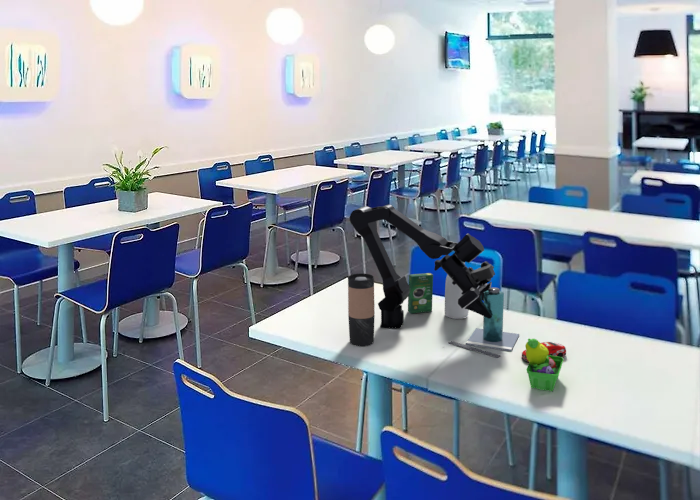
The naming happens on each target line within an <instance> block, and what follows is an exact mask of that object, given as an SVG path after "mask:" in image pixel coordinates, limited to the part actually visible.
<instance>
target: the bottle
mask: <svg viewBox="0 0 700 500" xmlns="http://www.w3.org/2000/svg"><path fill="white" fill-rule="evenodd" d="M504 299H505V293H504V291H501V289H500V288H499V287H493V286H492V287H491V288H489V289H488V291H485V292H484V301H483V303H484V304H485V306H486V307H487V309H488V310H489V312H490V313H491V315H492V317H491V318H490V319H489V318H487V317H484V316H482V317H483V321H482V323H483V325H482V329H483V339H484V340H486V341H489V342H499V341H501V340H502V338H503V332H504V331H503V329H504V302H505V300H504Z"/></svg>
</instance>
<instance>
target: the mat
mask: <svg viewBox="0 0 700 500" xmlns="http://www.w3.org/2000/svg"><path fill="white" fill-rule="evenodd" d="M519 336H520V333H513V332H509V331H508V332H507V331H503V338H502V340H501V341H499V342H489V341H486V340H484V339H483V328H478V327H476V328H475V329H474V330H473V332H472V334H471V335H470V336H469V338H468V339H467V341H466V342H465V345H468V346H472V347H480V348H481V347H482V348H487V349H493V350H494V349H495V350H501V351H507V352H512V350H513V349H514V346H515V345H516V343H517V341H518V338H519Z"/></svg>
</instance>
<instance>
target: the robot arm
mask: <svg viewBox="0 0 700 500" xmlns="http://www.w3.org/2000/svg"><path fill="white" fill-rule="evenodd" d="M348 218H349V221H350V224H351V225H352V228H353V229H354V230H355V232H356V233H357V234H358V235H360V237H362V238H363V240H364V243H365V244H366V247H367V249H368V251H369V254H370V255H371V257H372V260H373V261H374V263H375V266H376V269H377V271H378V273H379V275H380V277H381V279H382V290H383V294H384V295H383V296H384V298H382V299H381V300H380V301H379V302H378V303H377V304H378V308H379V310H380V325H379V327H380V328H382V329H396V330H397V329H399V330H400V329H402V326H403V325H404V323H405V322H404V321H405V320H404V318H405V317H404V315H405V314H404V313H405V310H403V304H404V301H406V299H408V296H409V293H410V291H409V287H410V286H409V282H408V281H407V278H406V276H405V275H402V276H400V275H399V274H398V273H397V272H396V270H395V268H394V266H393V264H392V262H391V259H390V256H389V254H388V253H387V250H386V248H385V246H384V244H383V241H382V239H381V237H380V235H379V233H378V221H383V220H384V221H386V222H387V223H389V224H390V225H392V227H395V229H397V230H399V231H400V232H402V234H404V235H405V236H407V237H408V238H409V239H411V240H413V241H414V242H415V243H416V244H417V246H418V247H419V249H420V250H421V252H423V253H424V254H425V255H426V256H427V257H428V258H429V259H431V260H434V259H435V261H434V268H433V270H434V271H436V272H437V271H438V270H439V269H440V268H441V269H442V270H443V271H444V273H446V275H449V277H450V278H451V279H452V280H453V282H452V284H453V285H455V284H456V285H457V286H458V287H459V288H460V289H461V290H462V291H463V292H462V293H461V294H462V296H461V297H460V298H459V299H458V305H459V306H460V307H461V308H462V309H463V308H464V307H465V306H466V305H467V306H466V307H465V309H468V311H471V312H473V313H476V314H478V315H480V316H482V317H483V316H484V317H487V318H489V319H490V318H491V317H492V315H491V313H490V312H489V310H488V309H487V307H486V306H485V304H484V292H485V291H488V289H489V288H492V282H493V281H492V278H494V276H495V275H496V273H495V270H494V268H495V267H494V266H493V265H492V263H489V262H488V261H486V260H485V261H484V262H482V263H480V267H478V268H476V269H474V268H473V267H470V266H467V265H466V263H469V264H470V263H471V262H472V261H473V260H475V259H476V258H477V257H479V256H480V254H483V252H485V248H484V245H483V244H482V242H481V241H480V240H479V239H477V238H476V237H474V236H473V235H471V234H470V233H466V234H465V235H464V236H463V237H462V238H461V239H460V240H459V241H458V242H455V241H451V240H447V239H446V238H445V237H444V236H442V235H440V234H437V233H435V232H433V231H429V230H428V229H424V228H423V227H422V226H420V225H419V224H418V223H416V222H414V221H413V220H411V219H410V218H408V216H406V215H404V214H403V213H401V212H400V211H399V210H397V209H396V208H395V207H394V206H393V205H391V204H386V205H383V206H375V207H369V206H367V205H366V206H365V205H364V206H361V207H359V208H356V209H354V210H352V211H351V213H350V215H349V217H348ZM452 252H453V253H452ZM451 253H452V254H451ZM449 254H451V255H449ZM442 256H443V257H442ZM441 257H442V258H441ZM439 258H440V259H439ZM463 262H464V263H465V264H464V263H463Z"/></svg>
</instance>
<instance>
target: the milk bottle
mask: <svg viewBox="0 0 700 500" xmlns="http://www.w3.org/2000/svg"><path fill="white" fill-rule="evenodd" d="M463 263H464V262H463ZM464 264H465V265H466V262H465V263H464ZM452 282H453V280H452V279H451V278H450V277H449V275H448V274H446V278H445V287H444V316H445V317H447V318H450V319H454V320H460V319H466V318H467V317H469V310H468V309H465V307H466V306H467V305H466V306H465V307H464V308H463V309H462V308H461V307H460V306H459V305H458V299H459V298H460V297H461V296H462V294H461V293H462V292H463V291H462V290H461V289H460V288H459V287H458V286H457V285H456V284H455V285H453V284H452Z"/></svg>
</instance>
